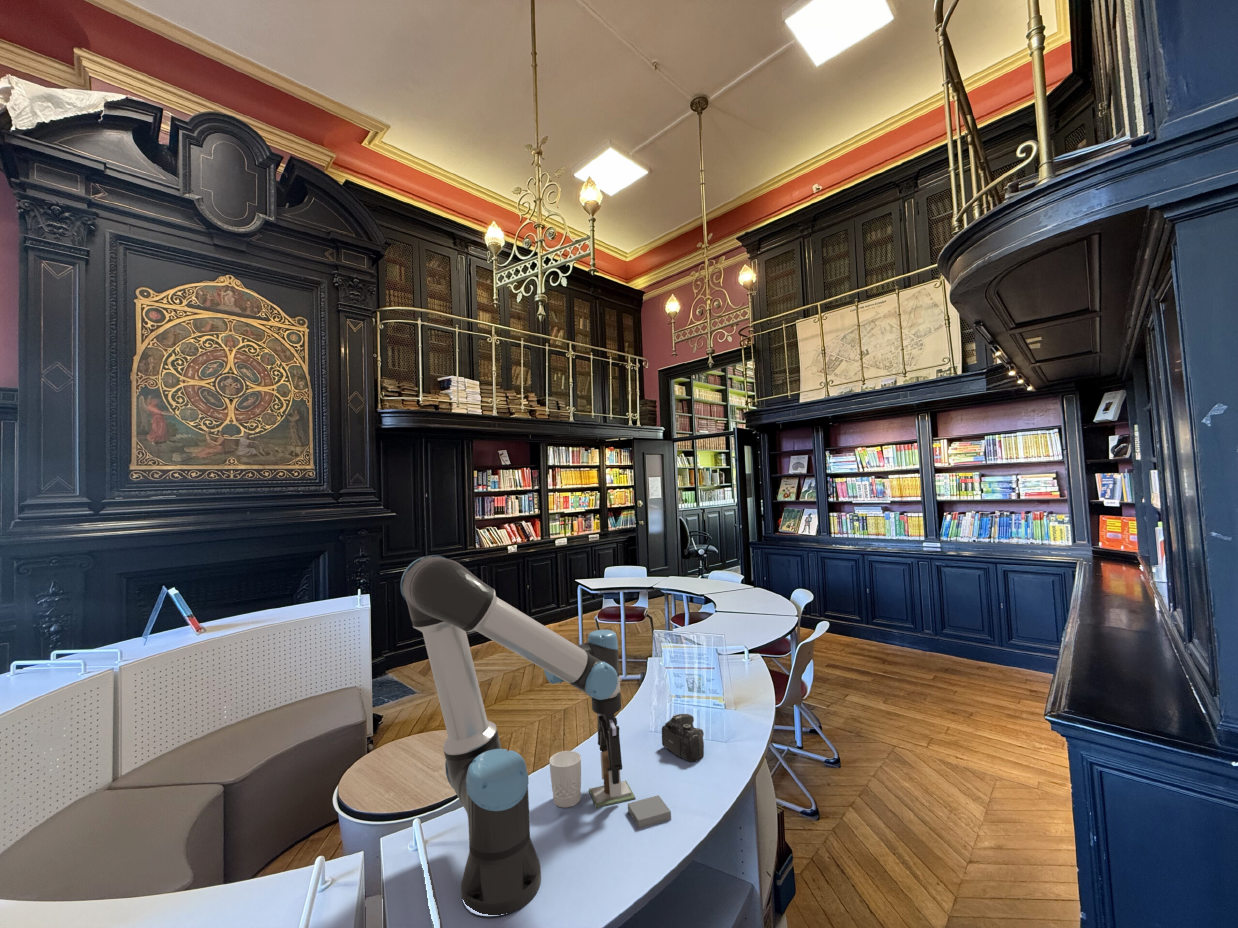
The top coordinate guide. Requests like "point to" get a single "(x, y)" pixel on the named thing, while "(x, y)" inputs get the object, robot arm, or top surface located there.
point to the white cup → (566, 778)
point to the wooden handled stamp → (604, 791)
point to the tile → (649, 811)
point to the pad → (613, 799)
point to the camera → (683, 737)
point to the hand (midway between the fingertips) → (611, 786)
